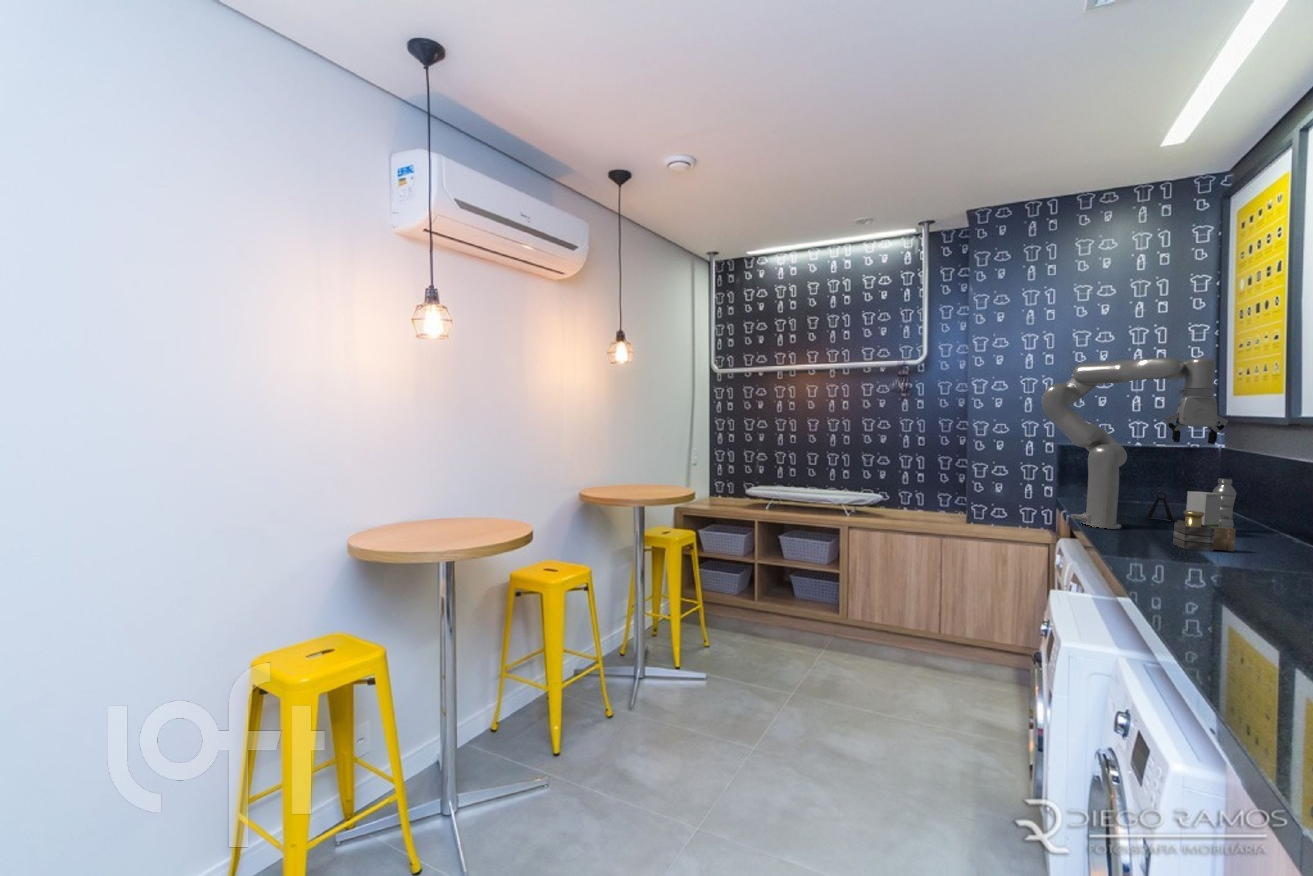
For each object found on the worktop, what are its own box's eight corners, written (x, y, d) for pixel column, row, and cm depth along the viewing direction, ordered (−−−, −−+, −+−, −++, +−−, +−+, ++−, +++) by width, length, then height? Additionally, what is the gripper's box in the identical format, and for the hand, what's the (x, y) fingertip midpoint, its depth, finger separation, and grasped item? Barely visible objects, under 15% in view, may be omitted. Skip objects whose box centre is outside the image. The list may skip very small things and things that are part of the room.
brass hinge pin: (1185, 548, 193) (1188, 512, 193) (1178, 545, 198) (1180, 509, 197) (1204, 550, 192) (1207, 513, 191) (1196, 547, 196) (1199, 511, 196)
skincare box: (1203, 536, 214) (1206, 493, 213) (1182, 532, 221) (1185, 491, 220) (1219, 535, 216) (1223, 493, 216) (1198, 532, 223) (1202, 490, 222)
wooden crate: (1183, 548, 192) (1185, 526, 192) (1172, 543, 199) (1174, 522, 199) (1238, 553, 188) (1239, 530, 187) (1224, 548, 195) (1226, 526, 194)
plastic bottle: (1208, 528, 231) (1212, 477, 230) (1232, 531, 226) (1236, 478, 225) (1209, 530, 226) (1213, 478, 225) (1234, 533, 221) (1238, 480, 220)
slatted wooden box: (1183, 549, 192) (1185, 526, 192) (1164, 540, 205) (1165, 519, 205) (1212, 551, 190) (1214, 528, 189) (1191, 542, 203) (1193, 521, 202)
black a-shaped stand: (1174, 520, 247) (1176, 491, 246) (1173, 522, 243) (1176, 493, 242) (1146, 517, 253) (1148, 489, 253) (1145, 518, 249) (1147, 490, 248)
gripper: (1171, 393, 206) (1167, 442, 208) (1235, 394, 200) (1231, 445, 201) (1162, 393, 213) (1158, 441, 214) (1224, 394, 207) (1219, 443, 208)
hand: (1193, 442), depth 208 cm, fingers open, 9 cm apart
